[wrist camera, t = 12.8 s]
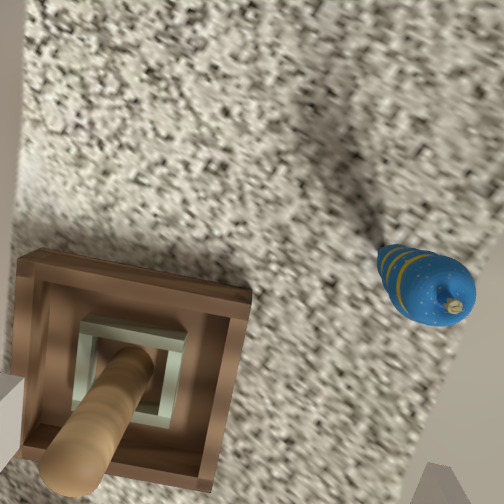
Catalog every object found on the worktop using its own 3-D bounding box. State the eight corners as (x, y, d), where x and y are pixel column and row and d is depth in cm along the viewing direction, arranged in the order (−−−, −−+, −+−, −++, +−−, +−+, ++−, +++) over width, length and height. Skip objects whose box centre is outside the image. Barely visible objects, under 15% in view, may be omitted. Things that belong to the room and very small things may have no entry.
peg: (114, 343, 41) (40, 439, 27) (156, 351, 41) (104, 451, 28) (109, 380, 42) (36, 490, 29) (150, 388, 42) (98, 502, 29)
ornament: (351, 231, 38) (407, 282, 24) (405, 217, 38) (495, 260, 23) (362, 281, 39) (421, 359, 25) (414, 268, 39) (505, 340, 25)
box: (41, 247, 39) (17, 258, 35) (252, 289, 40) (251, 304, 36) (28, 429, 45) (5, 455, 41) (215, 463, 45) (210, 493, 41)
